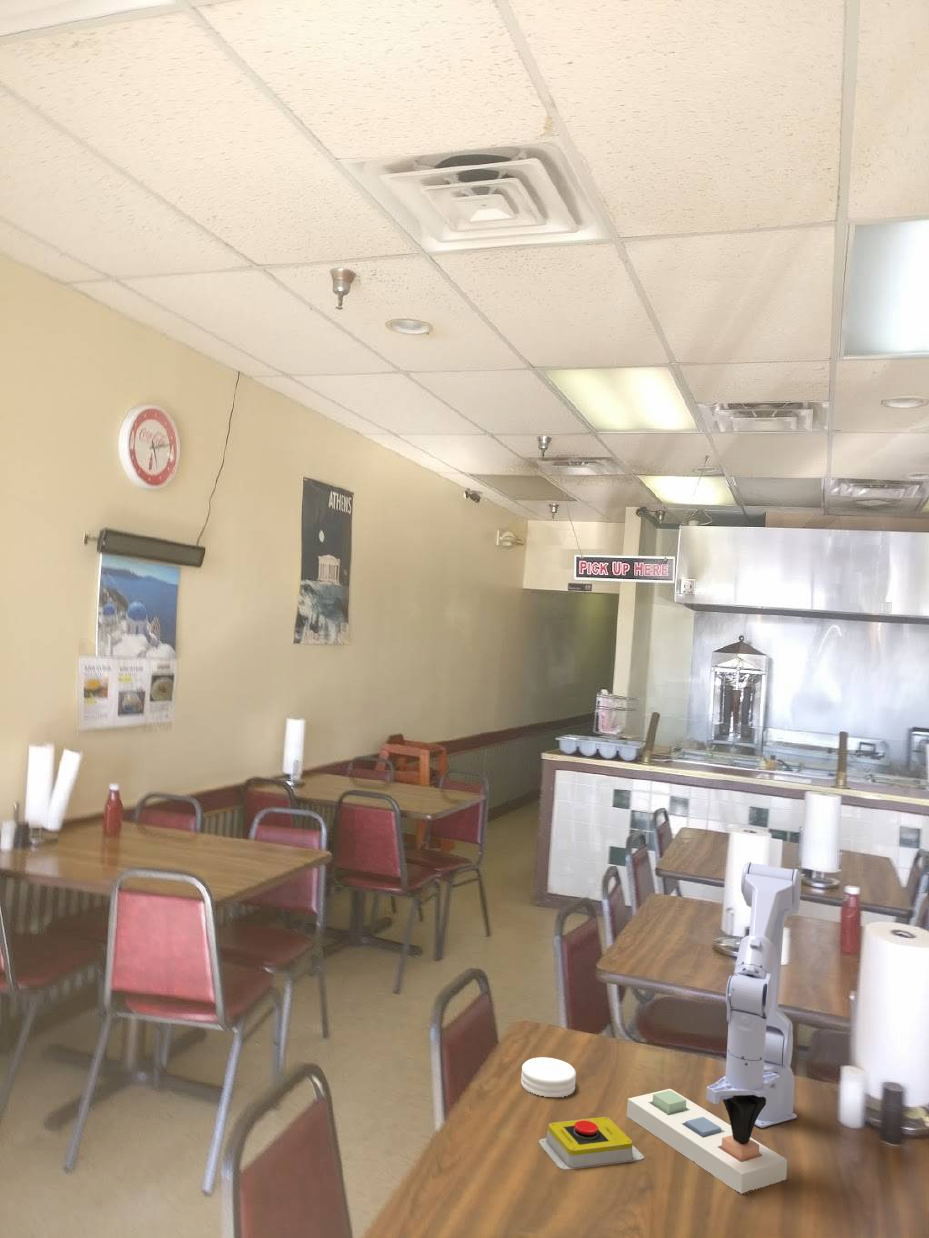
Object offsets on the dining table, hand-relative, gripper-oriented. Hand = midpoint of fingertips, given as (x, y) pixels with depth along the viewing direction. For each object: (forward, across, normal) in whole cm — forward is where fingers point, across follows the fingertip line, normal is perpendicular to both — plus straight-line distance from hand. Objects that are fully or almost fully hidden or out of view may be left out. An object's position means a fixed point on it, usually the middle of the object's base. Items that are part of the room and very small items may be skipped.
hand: (740, 1140), depth 149 cm
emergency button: (+5, -18, +15) cm, 24 cm away
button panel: (+5, 0, +8) cm, 9 cm away
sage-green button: (+3, 0, +16) cm, 16 cm away
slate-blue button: (+4, 0, +8) cm, 9 cm away
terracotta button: (+3, 0, 0) cm, 3 cm away
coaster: (+5, -11, +36) cm, 38 cm away
